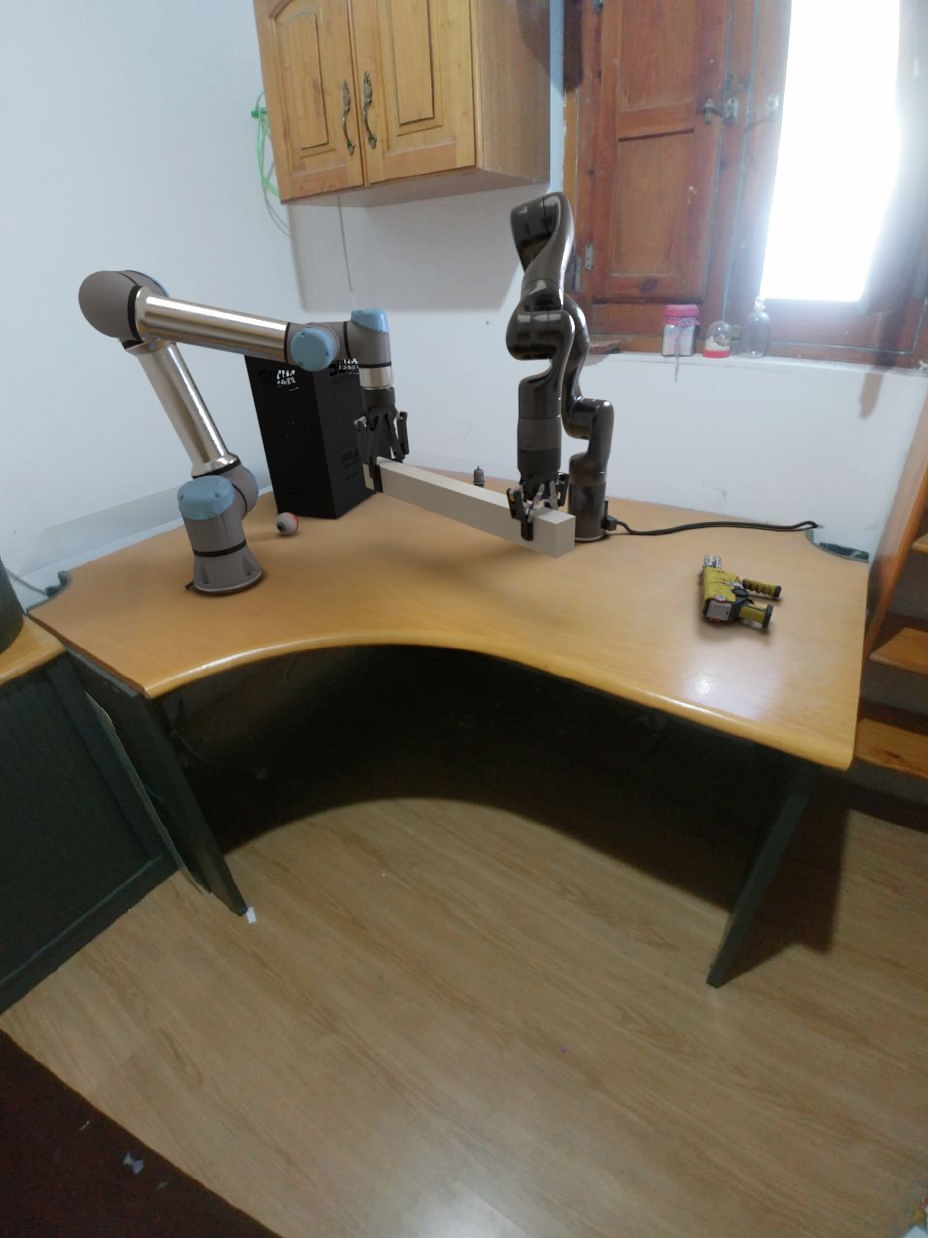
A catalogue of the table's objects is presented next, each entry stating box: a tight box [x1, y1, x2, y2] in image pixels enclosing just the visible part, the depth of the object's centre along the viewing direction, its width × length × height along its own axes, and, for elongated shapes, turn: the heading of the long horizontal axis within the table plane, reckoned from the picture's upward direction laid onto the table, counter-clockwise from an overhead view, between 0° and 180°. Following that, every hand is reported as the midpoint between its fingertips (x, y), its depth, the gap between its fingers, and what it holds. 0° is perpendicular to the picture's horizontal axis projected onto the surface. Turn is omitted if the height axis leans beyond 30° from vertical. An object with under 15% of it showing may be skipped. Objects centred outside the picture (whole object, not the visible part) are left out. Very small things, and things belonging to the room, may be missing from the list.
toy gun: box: [700, 553, 783, 630], centre depth 120 cm, size 5×24×15 cm
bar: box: [363, 457, 576, 559], centre depth 127 cm, size 63×5×6 cm, turn 40°
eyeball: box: [275, 512, 300, 536], centre depth 163 cm, size 6×6×6 cm
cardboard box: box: [243, 355, 393, 520], centre depth 181 cm, size 38×20×45 cm, turn 159°
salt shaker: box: [472, 465, 486, 489], centre depth 173 cm, size 6×6×12 cm
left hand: (388, 488), depth 146 cm, fingers closed on bar, 5 cm apart
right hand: (538, 535), depth 111 cm, fingers closed on bar, 5 cm apart
